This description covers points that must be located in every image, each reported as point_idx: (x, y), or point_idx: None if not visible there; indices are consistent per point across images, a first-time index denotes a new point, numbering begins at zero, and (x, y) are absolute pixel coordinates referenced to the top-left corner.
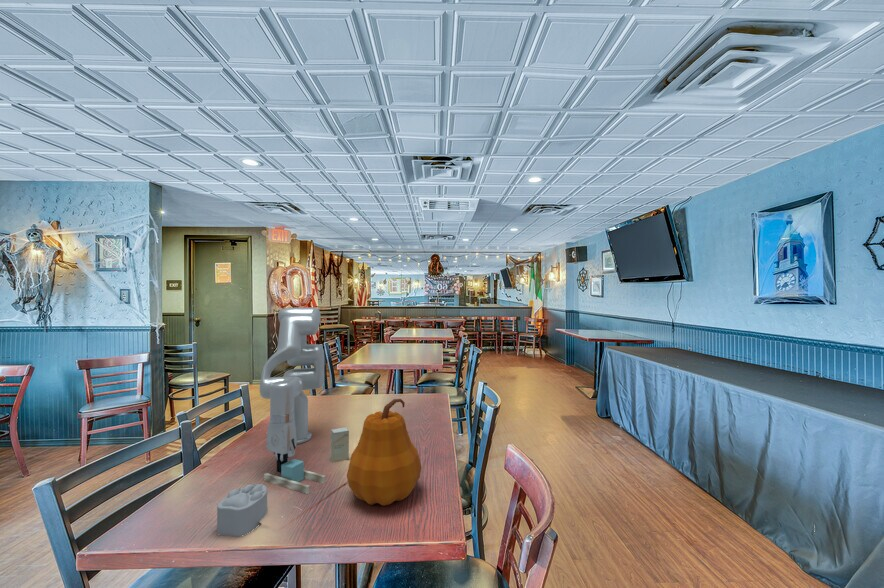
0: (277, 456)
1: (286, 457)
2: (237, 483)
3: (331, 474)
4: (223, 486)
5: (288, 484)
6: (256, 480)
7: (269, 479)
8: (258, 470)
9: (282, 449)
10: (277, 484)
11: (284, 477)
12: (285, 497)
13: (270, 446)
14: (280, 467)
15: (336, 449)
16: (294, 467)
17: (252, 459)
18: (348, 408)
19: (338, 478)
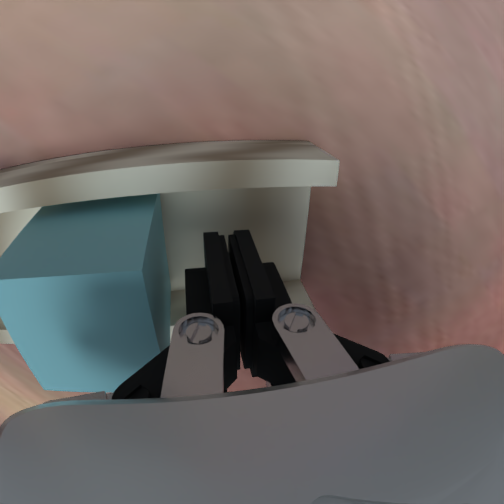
0: (285, 344)
1: (140, 378)
2: (455, 96)
3: None
4: (484, 56)
5: (27, 174)
6: (389, 157)
7: (260, 151)
8: (443, 240)
9: (51, 491)
10: (156, 151)
11: (111, 209)
12: (11, 108)
13: (461, 426)
14: (207, 264)
15: None
16: (1, 301)
17: (497, 283)
18: None
19: (6, 361)
